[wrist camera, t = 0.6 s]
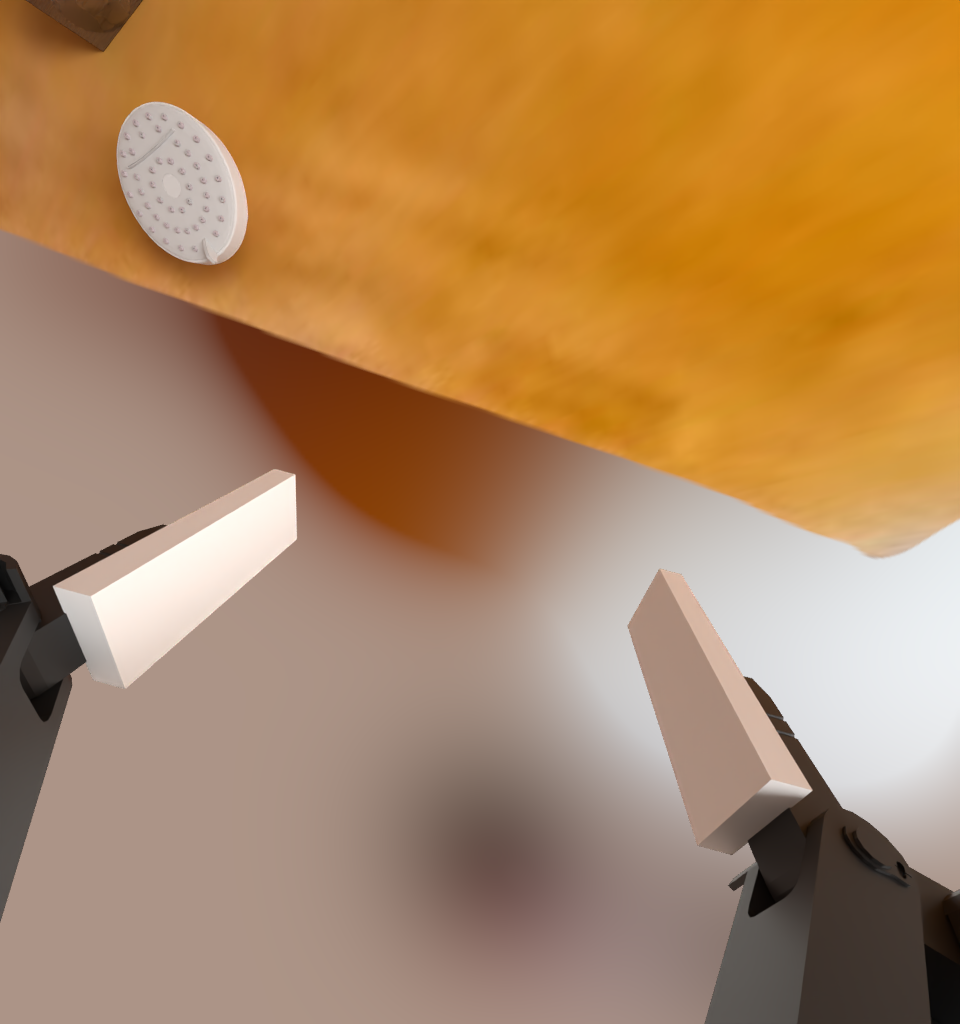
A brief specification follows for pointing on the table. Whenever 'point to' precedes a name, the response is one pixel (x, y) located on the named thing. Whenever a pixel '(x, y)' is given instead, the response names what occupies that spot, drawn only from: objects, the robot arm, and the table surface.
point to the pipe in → (90, 17)
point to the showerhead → (181, 184)
